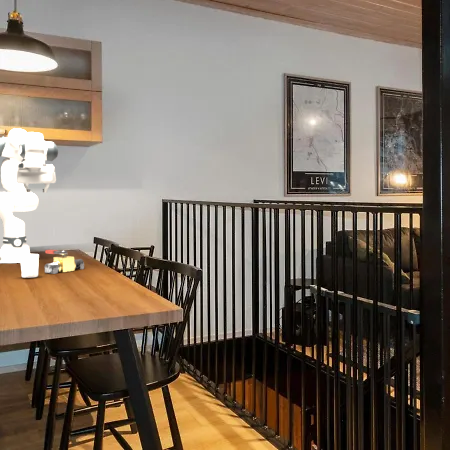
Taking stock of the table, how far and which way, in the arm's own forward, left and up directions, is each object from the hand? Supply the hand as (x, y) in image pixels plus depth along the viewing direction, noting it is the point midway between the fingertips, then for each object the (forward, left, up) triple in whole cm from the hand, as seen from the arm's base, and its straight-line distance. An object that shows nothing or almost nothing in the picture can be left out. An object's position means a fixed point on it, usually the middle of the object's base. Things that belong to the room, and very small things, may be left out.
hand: (36, 192), depth 235 cm
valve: (+13, +8, -38) cm, 41 cm away
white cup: (+20, -10, -39) cm, 45 cm away
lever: (+8, +7, -30) cm, 32 cm away
